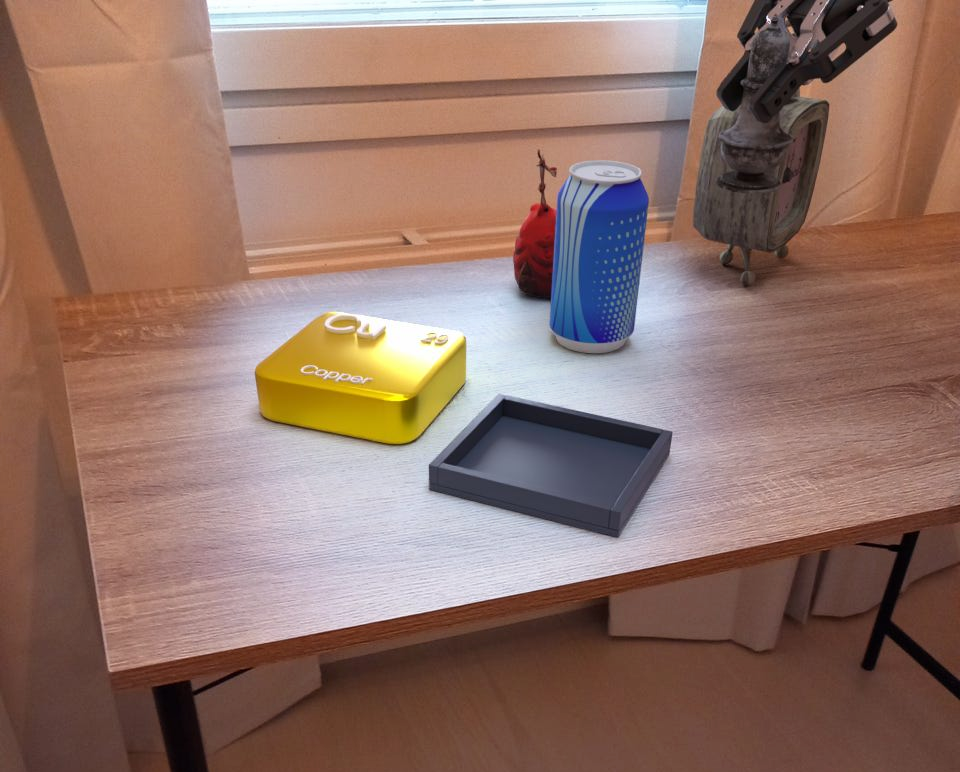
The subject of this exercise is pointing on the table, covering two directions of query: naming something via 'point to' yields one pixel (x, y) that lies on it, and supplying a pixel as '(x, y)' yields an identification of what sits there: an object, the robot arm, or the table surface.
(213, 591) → the table surface
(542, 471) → the tray
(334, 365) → the element tile
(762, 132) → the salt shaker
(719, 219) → the tabletop clock
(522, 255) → the red rounded tall piece
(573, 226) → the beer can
